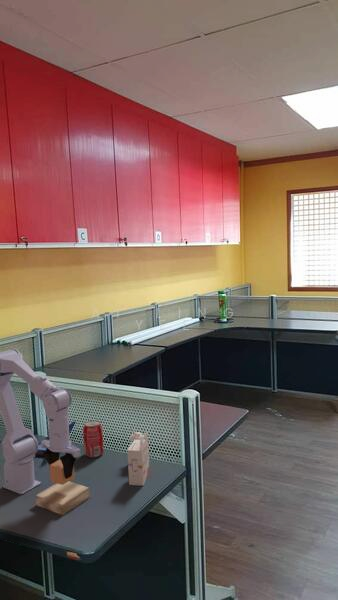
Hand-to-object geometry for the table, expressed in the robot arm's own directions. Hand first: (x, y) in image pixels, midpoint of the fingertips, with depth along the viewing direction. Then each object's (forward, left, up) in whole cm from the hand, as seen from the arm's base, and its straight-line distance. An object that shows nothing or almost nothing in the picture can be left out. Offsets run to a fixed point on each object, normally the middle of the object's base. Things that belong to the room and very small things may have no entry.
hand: (61, 474), depth 137 cm
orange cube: (0, 0, -2) cm, 2 cm away
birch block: (0, 0, -9) cm, 9 cm away
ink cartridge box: (+12, +22, -8) cm, 26 cm away
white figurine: (+5, +32, -8) cm, 33 cm away
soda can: (-14, +29, -8) cm, 33 cm away
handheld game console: (-32, +25, -9) cm, 42 cm away
